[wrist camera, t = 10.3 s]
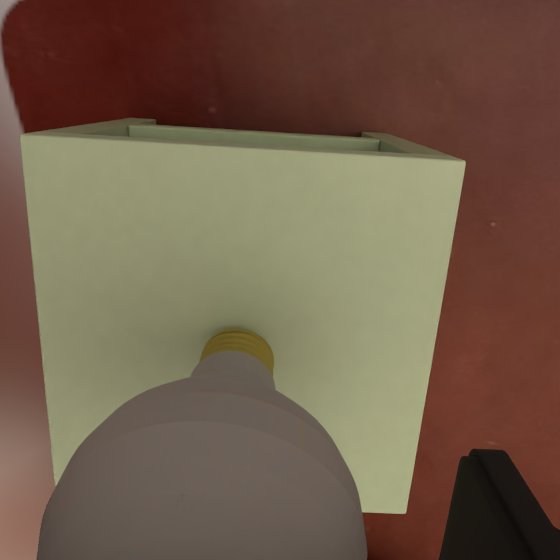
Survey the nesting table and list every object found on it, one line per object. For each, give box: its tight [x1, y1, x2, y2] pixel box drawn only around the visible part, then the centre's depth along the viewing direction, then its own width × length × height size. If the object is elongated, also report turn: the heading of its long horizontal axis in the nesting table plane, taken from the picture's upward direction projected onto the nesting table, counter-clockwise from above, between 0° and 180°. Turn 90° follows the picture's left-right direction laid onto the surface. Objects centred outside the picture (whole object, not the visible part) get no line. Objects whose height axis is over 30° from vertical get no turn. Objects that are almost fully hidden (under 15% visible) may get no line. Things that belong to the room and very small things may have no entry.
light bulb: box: [37, 328, 367, 560], centre depth 11 cm, size 5×5×10 cm
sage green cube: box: [20, 118, 466, 514], centre depth 21 cm, size 12×12×11 cm
